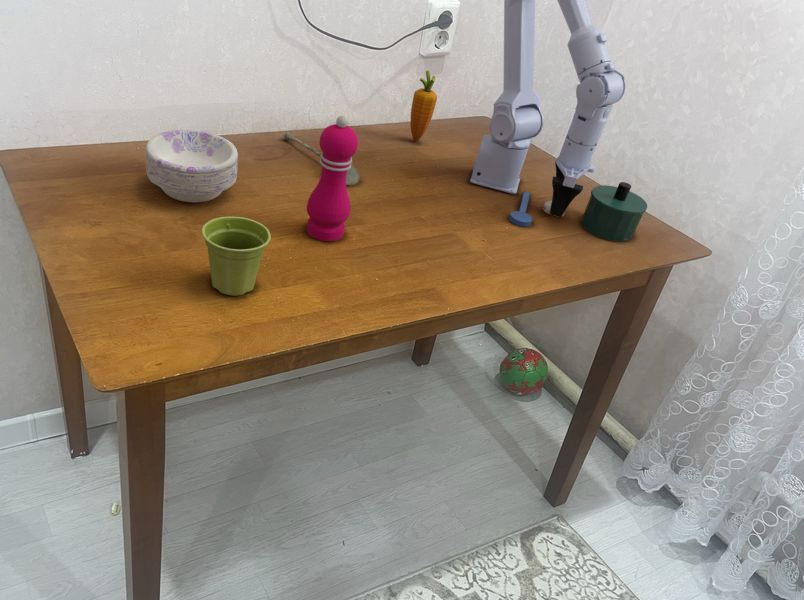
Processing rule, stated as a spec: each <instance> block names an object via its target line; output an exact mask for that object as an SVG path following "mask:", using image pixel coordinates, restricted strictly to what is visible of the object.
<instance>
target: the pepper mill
mask: <svg viewBox="0 0 804 600" xmlns="http://www.w3.org/2000/svg"><path fill="white" fill-rule="evenodd" d="M348 124H349V120H348V118H347V116H345V115H339V116H338V117H337V118H336V121H335V123H333V124H330V125H328V126H326V127H325V128H324V129H323V130H322V132H321V133H320V136H319V140H318V141H319V143H318V144H319V148H320V150H321V151H322V152H321V153H322V154H321V157H320V159H319V164H320V165H321V173H320V177H319V181H318V182H317V184H316V186H315V187H314V189H313V190H312V192H311V193H310V195H309V197H308V198H307V199H308V200H307V203H306V213H307V215H308V217H309V218H308V219H307V224H306V232H307V234H308V235H309V236H310V237H311V238H313V239H316V240H318V241H322V242H336V241H338V240H340V239H342V238H343V237H344V233H345V228H346V227H345V226H346V224H345V222H346V221H348V219H349V218H350V215H351V200H350V196H349V193H348V188H347V185H346V175H347V171H348V170H349V169H350V168H351V165H352V163H353V158H352V157H353V156H354V155H355V154H356V152H357V151H358V148H359V137H358V135H357V133H356V131H355V130H354V129H353V128H352V127H350V126H349V125H348Z"/></svg>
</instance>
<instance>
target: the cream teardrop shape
mask: <svg viewBox="0 0 804 600" xmlns="http://www.w3.org/2000/svg"><path fill="white" fill-rule="evenodd" d="M551 203H552V199H550V200H547V201H546V202H544V204H543V207H542V209H543V211H544V212H545V213H546V214H548V215H550V209H551ZM565 215H566V211H565V212H564V213H563V215H562V216H561V217H565Z"/></svg>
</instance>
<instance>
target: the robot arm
mask: <svg viewBox="0 0 804 600" xmlns="http://www.w3.org/2000/svg"><path fill="white" fill-rule="evenodd" d="M557 3H558V6H559V8H560V10H561V13H562V15H563V18H564V20H565V22H566V25H567V28H568V30H569V31H570V37H569V40H568V42H567V48H568V51H569V55H570V58H571V60H572V64H573V66H574V69H575V73H576V75H577V78H578V82H579V84H576V88H575V96H576V106H575V111H574V114H573V116H572V119H571V122H570V125H569V127H568V130H567V132H566V135H565V138H564V142H563V144H562V147H561V149H560V152H559V155H558V156H557V157H556V160H555V163H554V165H555V175H553V176H552V180H551V181H552V182H551V183H552V184H551V185H552V199H551V200H552V203H551V209H550V214H549V215H550V216H554V217H557V218H561V217H563V216H562V215H563V213H564V212H565V213H566V211H567V209H568V207H569V206H570V204H571V203H572V201H573V200H574V199H575V198H576V197H577V196H578V195H580V194H581V193H582V192H583V190H584V186H583V185H580V184H578V183H577V180H578V179H579V178H581V177H582V176H584V175H585V174H586V173H591V174H593V173H595V170H596V166H595V165H592V164H591V163H592V159H593V157H594V154H595V152H596V149H597V147H598V144H599V142H600V139H601V137H602V134H603V133H604V132H603V131H604V129H605V128H606V127H605V126H606V124H607V122H608V119H609V116H610V114H611V111H612V108H613V105H615V104H616V103H618V102H619V101H620V100H621V99H622V98H623V96H624V94H625V90H626V81H625V76H624V74H623V73H622V72H621V71H619V70H618V69H616V67H615V64H614V62H612V60H611V57H610V55H609V51H608V47H607V45H606V42H607V41H608V38H607V35H606V34H605V33H603V32H602V30H601V29H600V28H599V27H595V26H593V25H592V23H591V18H590V15H589V10H588V7H587V3H586V0H557ZM535 23H536V0H504V1H503V91H502V93H501V94H500V95H499V97H498V98H497V99H496V100H495V102H494V103H493V112H492V116H491V118H490V120H489V132H490V134H484V135H483V137H482V139H481V144H480V146H479V149H478V152H477V156H476V159H475V160H474V162H473V165H472V173H471V176H470V180H469V182H470V183H471V184H475V185H478V186H481V187H485V188H488V189H493V190H496V191H500V192H503V193H508V194H510V195H517V193H518V188H519V184H520V181H521V178H520V176H521V173H522V169H523V167H524V163H525V161H526V157H527V154H528V151H529V149H530V145H531V144H532V142H533V139H534V138H536V137H537V136H539V135H540V134H541V132H542V131H543V128H544V124H545V117H544V114H543V111H542V107H541V97H539V95H538V94H537V93H536V92H535V90H534V67H535V65H534V63H535V28H536V27H535V26H536V25H535Z"/></svg>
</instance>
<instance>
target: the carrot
mask: <svg viewBox="0 0 804 600" xmlns="http://www.w3.org/2000/svg"><path fill="white" fill-rule="evenodd" d="M436 77H437V76H436V75H432V78H431V74H430V70H426V71H425V78H426V80H425V79H424V78H423V77H420V78H419V81H420V82H421V83H422V85H423V87H421V88H418V89H416V90H415V91H414V92H413V97H412V103H411V109H410V123H409V125H410V134H411V137H412V140H413V142H414V143H417V142H419V140H420V139H421V138H422V137H423V136H424V134H425V133H426V131H427V129H428V128H429V125H430V123H431V121H432V118H433V115H434V112H435V108H436V105H437V100H438V95H437V94H436V92H435V91H434V90H432V87H433V86H434V85H435V80H436Z"/></svg>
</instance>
